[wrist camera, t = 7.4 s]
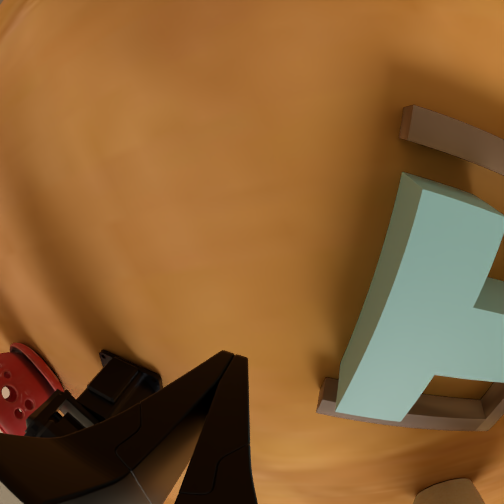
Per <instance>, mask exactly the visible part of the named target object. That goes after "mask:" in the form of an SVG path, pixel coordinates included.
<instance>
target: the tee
mask: <svg viewBox="0 0 504 504" xmlns="http://www.w3.org/2000/svg"><path fill="white" fill-rule="evenodd" d="M503 234H504V215H503V214H501V213H500V212H499V211H497V210H496V209H494V208H493V207H491V206H490V205H488V204H487V203H486V202H484V201H483V200H481V199H479V198H478V197H476V196H475V195H473V194H471V193H468V192H465V191H463V190H460V189H457V188H454V187H451V186H448V185H445V184H442V183H439V182H435V181H432V180H429V179H426V178H422V177H419V176H416V175H412V174H409V173H405V172H402V175H401V179H400V184H399V188H398V192H397V196H396V200H395V204H394V208H393V212H392V216H391V219H390V223H389V227H388V230H387V234H386V237H385V241H384V244H383V247H382V251H381V254H380V257H379V261H378V264H377V267H376V270H375V273H374V276H373V279H372V282H371V285H370V288H369V291H368V294H367V296H366V299H365V302H364V305H363V308H362V310H361V313H360V316H359V318H358V321H357V324H356V326H355V329H354V331H353V334H352V336H351V339H350V341H349V344H348V346H347V349H346V351H345V353H344V356H343V358H342V361H341V363H340V372H339V382H338V391H337V399H336V407H335V412H339V413H345V414H350V415H356V416H362V417H368V418H375V419H382V420H389V421H397V422H401V421H402V419H403V418H404V417H405V415H406V414H407V413H408V412H409V410H410V409H411V408H412V406H413V405H414V404H415V402H416V401H417V399H418V398H419V397H420V395H421V394H422V392H423V391H424V390H425V388H426V387H427V385H428V384H429V382H430V381H431V379H432V378H433V376H434V375H438V376H446V377H453V378H461V379H470V380H479V381H489V382H501V383H504V281H501V280H497V279H494V278H490V277H487V276H488V273H489V271H490V269H491V266H492V264H493V261H494V259H495V256H496V253H497V251H498V248H499V245H500V243H501V240H502V237H503Z"/></svg>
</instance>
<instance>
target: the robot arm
mask: <svg viewBox="0 0 504 504" xmlns="http://www.w3.org/2000/svg"><path fill="white" fill-rule="evenodd" d="M99 355H100V358H101V362H102V365H103V368H102V370H101V371H100V372H99V373H98V374H97V375H96V376H95V377H94V378H93V379H92V381H91V382H90V383H89V384H88V385H87V388H86V389H85V390H84V392H83V393H82V394H81V395H80V396H79V397H78V398H77V399H75V398H74V397H73V396H72V395H71V393H70V392H69V391H68V390H67V389H66V390H65V391H64V392H63V391H61V390H59V389H57V390H56V391H55V392H54V393H53V394H52V395H51V396H50V397H49V398H48V399H47V400H46V401H45V402H44V403H43V404H42V405H41V406H40V407H38V408H37V409H36V410H35V411H34V412H33V413H32V414H31V415H30V416H29V417H28V418H27V419H26V426H27V429H26V430H25V433H26V434H25V435H24V436H20V435H12V434H5V433H0V504H163V503H164V501H165V500H166V498H167V496H168V495H169V493H170V492H171V490H172V489H173V487H174V485H175V484H176V482H177V481H178V479H179V477H180V476H181V474H182V472H183V471H184V469H185V467H186V466H187V464H188V463H189V461H190V463H189V466H188V469H187V471H186V474H185V477H184V479H183V482H182V485H181V488H180V490H179V494H178V496H177V498H176V501H175V503H174V504H258V503H257V498H256V493H255V488H254V483H253V477H252V469H251V454H250V422H249V381H248V358H247V357H244V356H241V355H237V354H236V355H234V354H233V353H231V352H228V351H224V350H222V351H220V352H219V353H217V354H216V355H214V356H213V357H211V358H209V359H208V360H206V361H205V362H203V363H202V364H200V365H199V366H197V367H196V368H194V369H193V370H191V371H189V372H188V373H186V374H185V375H183V376H182V377H180V378H178V379H177V380H175V381H174V382H172V383H170V384H169V385H167V386H166V387H164V388H163V387H162V380H161V377H160V376H159V375H158V374H156V373H154V372H151V371H149V370H147V369H144V368H142V367H140V366H137V365H135V364H133V363H131V362H129V361H126V360H124V359H122V358H120V357H118V356H116V355H114V354H112V353H109V352H107V351H105V350H102V351H101V352H100V353H99ZM59 410H60V411H61V412H62V413H63V414H64V416H63V417H62V416H61V415H60V414H59V413H58V411H59ZM190 459H191V460H190Z"/></svg>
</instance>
